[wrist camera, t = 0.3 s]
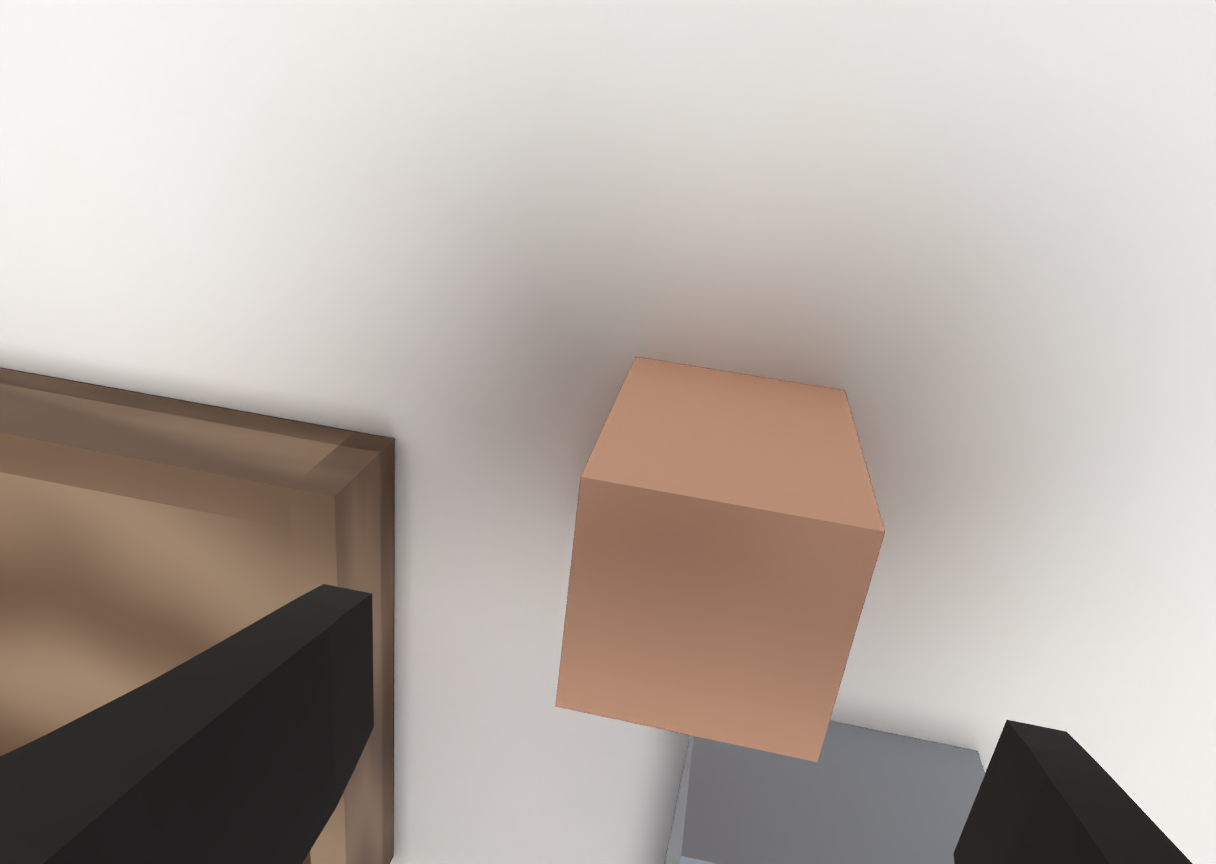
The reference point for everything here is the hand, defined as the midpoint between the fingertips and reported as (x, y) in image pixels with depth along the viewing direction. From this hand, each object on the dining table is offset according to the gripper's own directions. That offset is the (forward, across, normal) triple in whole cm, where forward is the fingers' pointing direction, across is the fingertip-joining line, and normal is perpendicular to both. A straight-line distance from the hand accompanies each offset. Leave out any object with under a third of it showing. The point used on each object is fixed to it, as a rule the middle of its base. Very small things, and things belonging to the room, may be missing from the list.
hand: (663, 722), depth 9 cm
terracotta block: (+10, 0, +1) cm, 10 cm away
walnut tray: (+10, +15, +9) cm, 20 cm away
